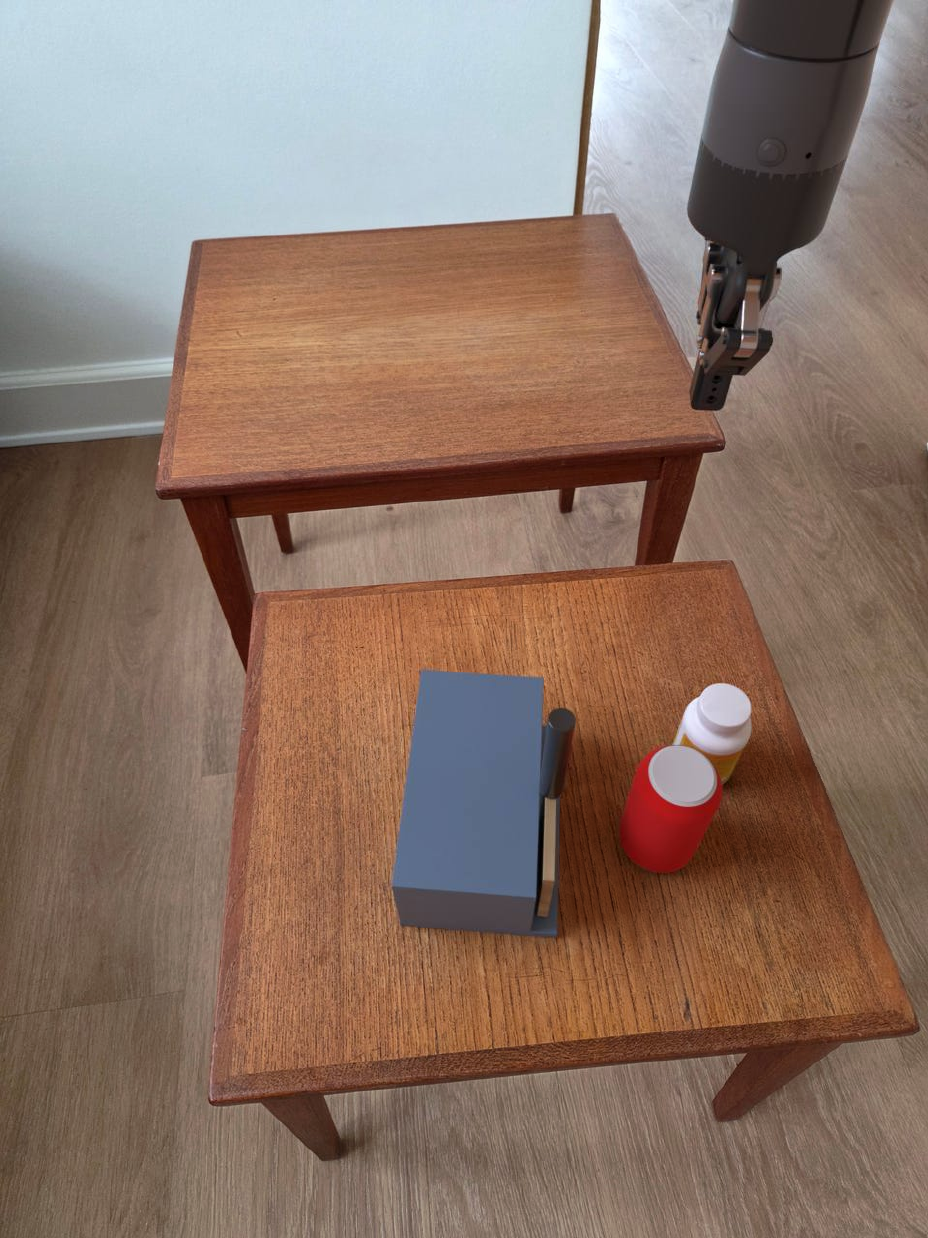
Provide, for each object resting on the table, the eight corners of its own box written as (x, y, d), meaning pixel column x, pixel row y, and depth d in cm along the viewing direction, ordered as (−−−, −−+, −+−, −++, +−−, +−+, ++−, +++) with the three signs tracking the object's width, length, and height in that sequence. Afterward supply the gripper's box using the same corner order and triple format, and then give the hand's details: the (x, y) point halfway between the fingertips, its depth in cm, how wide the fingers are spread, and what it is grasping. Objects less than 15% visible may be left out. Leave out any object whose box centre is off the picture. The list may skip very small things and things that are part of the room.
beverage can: (670, 893, 67) (702, 831, 57) (602, 848, 69) (622, 781, 59) (706, 834, 70) (743, 765, 60) (640, 792, 72) (665, 720, 62)
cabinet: (560, 731, 76) (568, 678, 69) (556, 938, 65) (565, 900, 58) (426, 722, 76) (421, 669, 69) (400, 925, 66) (391, 886, 59)
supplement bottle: (737, 791, 72) (769, 734, 64) (673, 792, 72) (697, 735, 64) (724, 734, 75) (753, 674, 67) (663, 736, 75) (685, 675, 67)
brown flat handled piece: (556, 814, 69) (576, 700, 55) (554, 917, 64) (575, 821, 50) (534, 812, 70) (548, 698, 55) (530, 915, 65) (544, 818, 50)
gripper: (877, 199, 40) (774, 473, 54) (828, 81, 48) (749, 346, 62) (714, 194, 40) (654, 467, 54) (693, 78, 48) (645, 342, 62)
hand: (705, 403), depth 58 cm, fingers closed
